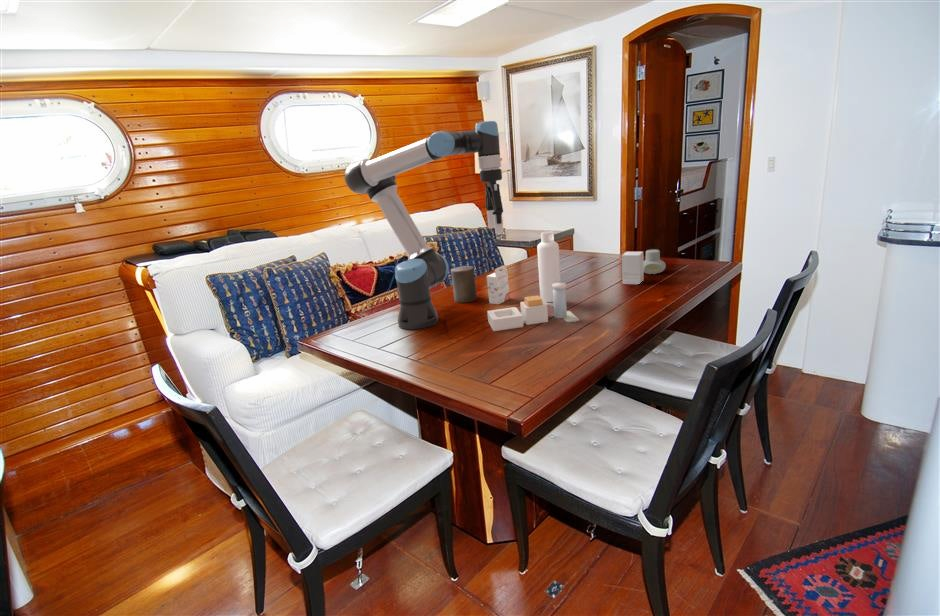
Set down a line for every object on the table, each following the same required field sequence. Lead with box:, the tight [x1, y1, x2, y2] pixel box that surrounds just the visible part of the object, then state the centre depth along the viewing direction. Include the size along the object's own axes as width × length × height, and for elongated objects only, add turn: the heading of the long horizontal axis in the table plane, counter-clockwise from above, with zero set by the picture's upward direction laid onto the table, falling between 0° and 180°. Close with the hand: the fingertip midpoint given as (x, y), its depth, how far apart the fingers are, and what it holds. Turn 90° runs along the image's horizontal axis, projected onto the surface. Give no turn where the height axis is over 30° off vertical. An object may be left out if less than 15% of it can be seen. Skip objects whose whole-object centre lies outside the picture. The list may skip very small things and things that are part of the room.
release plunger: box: [523, 295, 542, 307], centre depth 168 cm, size 5×5×8 cm
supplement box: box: [621, 251, 644, 285], centre depth 202 cm, size 7×7×13 cm
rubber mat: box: [563, 310, 580, 323], centre depth 170 cm, size 10×10×1 cm
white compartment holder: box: [486, 300, 549, 332], centre depth 168 cm, size 20×10×7 cm, turn 98°
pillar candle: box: [450, 265, 478, 304], centre depth 203 cm, size 10×10×15 cm
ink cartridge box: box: [486, 264, 510, 305], centre depth 196 cm, size 9×5×15 cm, turn 143°
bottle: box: [536, 230, 562, 308], centre depth 183 cm, size 8×8×28 cm
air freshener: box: [643, 249, 667, 275], centre depth 213 cm, size 11×8×10 cm
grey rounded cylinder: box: [552, 282, 568, 320], centre depth 168 cm, size 5×5×12 cm
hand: (495, 230), depth 172 cm, fingers open, 13 cm apart
